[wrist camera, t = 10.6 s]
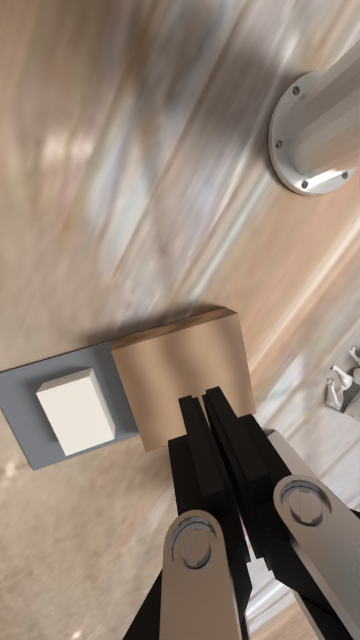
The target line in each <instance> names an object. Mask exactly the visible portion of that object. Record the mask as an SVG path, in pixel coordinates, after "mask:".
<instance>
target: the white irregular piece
mask: <svg viewBox="0 0 360 640" xmlns="http://www.w3.org/2000/svg"><path fill="white" fill-rule="evenodd" d="M354 351H355V347H353V349H352V350H351V351H349V352H350V354H351V355H352V357H353V358H354V359H355V360H356V361H357V362H358V364H359V366H360V358H358V357H357V356H356V355H355V353H354ZM332 370H335V371H336V372H337V373H338V374H339V375H340V378H341V380H342V382H343V386H342V385H341V386H340V388H339V391H338V392H337V393H335V391H334V388H333V387H334V383H333V381H332V380H333V379H330V378H329V382H328V383H330V382H331V381H332V383H331V384H329V385H327V387H328V394H327V402H326V404H327V405H329V406H331V407H333V408H335V409H337V410H338V411H340V409H341V406H342V404H343V391H345V390H347V389H348V388H349V387H350V386H351V384H352V381H354V382H355V383H356V384H357V385H360V368H356V369H355V370H354V371H353V377H352V376H351V375H348V374H346V373H344V372H343V371H341V370H340V369H339V368H337V367H336V366H333V369H332ZM346 400H347V399H346ZM347 401H348V400H347ZM346 403H347V402H346ZM347 405H348V406H347V408H346V410H345V412H344V413H343V414H345V415H346V414H347V415H348V416H352V418H353V419H355V420H358V421H360V391H359V393H358V394H357V395H356V396H355V398H354V399H353V400H352V401H351V402H350V403H347Z"/></svg>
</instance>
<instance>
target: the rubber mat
mask: <svg viewBox="0 0 360 640" xmlns="http://www.w3.org/2000/svg"><path fill="white" fill-rule="evenodd" d="M112 344H113V340H111V341H108V342H104V343H101V344H97V345H94V346H90V347H87V348H84V349H80V350H77V351H73V352H70V353H66V354H63V355H60V356H56V357H53V358H49V359H46V360H42V361H39V362H36V363H32V364H29V365H25V366H22V367H18V368H15V369H12V370H8V371H5V372H1V373H0V407H1V409H2V411H3V413H4V415H5V416H6V418H7V420H8V422H9V424H10V426H11V428H12V430H13V432H14V434H15V436H16V438H17V440H18V442H19V444H20V446H21V447H22V449H23V451H24V453H25V455H26V457H27V459H28V461H29V463H30V465H31V467H32V469H33V471H34V470H37V469H40V468H43V467H46V466H49V465H52V464H55V463H57V462H60V461H63V460H66V459H69V458H72V457H75V456H78V455H81V454H84V453H87V452H89V451H92V450H95V449H98V448H101V447H104V446H107V445H110V444H113V443H116V442H118V441H121V440H124V439H127V438H130V437H133V436H136V435H139V434H140V433H139V430H138V427H137V424H136V422H135V419H134V416H133V413H132V410H131V407H130V404H129V401H128V398H127V396H126V393H125V390H124V387H123V384H122V381H121V378H120V375H119V372H118V370H117V367H116V364H115V361H114V358H113V355H112V352H111V349H112ZM92 367H93V370H94V373H95V375H96V378H97V380H98V383H99V385H100V388H101V390H102V393H103V396H104V398H105V401H106V403H107V406H108V408H109V411H110V413H111V416H112V418H113V421H114V424H115V426H116V427H115V438H114V439H113V440H110V441H107V442H104V443H102V444H99V445H96V446H93V447H90V448H87V449H85V450H82V451H79V452H76V453H73V454H70V455H68V456H66V455H65V453H64V451H63V449H62V447H61V445H60V442H59V440H58V438H57V436H56V434H55V432H54V430H53V428H52V426H51V424H50V422H49V419H48V417H47V415H46V413H45V411H44V409H43V407H42V405H41V403H40V401H39V399H38V396H37V394H36V393H37V391H38V390H39V388H40V387H41V386H42V384H43V383H44V382H48V381H51V380H54V379H57V378H60V377H63V376H67V375H70V374H73V373H76V372H79V371H82V370H86V369H89V368H92Z"/></svg>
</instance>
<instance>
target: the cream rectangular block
mask: <svg viewBox="0 0 360 640" xmlns="http://www.w3.org/2000/svg"><path fill="white" fill-rule="evenodd" d="M36 394H37V396H38V399H39V401H40V403H41V405H42V407H43V409H44V411H45V413H46V415H47V417H48V419H49V422H50V424H51V426H52V428H53V430H54V432H55V434H56V436H57V438H58V440H59V442H60V445H61V447H62V449H63V451H64V453H65V455H66V456H68V455H70V454H73V453H76V452H79V451H82V450H85V449H87V448H90V447H93V446H96V445H99V444H102V443H104V442H107V441H110V440H113V439H114V438H115V427H116V426H115V424H114V421H113V418H112V416H111V413H110V411H109V408H108V406H107V403H106V401H105V398H104V396H103V393H102V390H101V388H100V385H99V383H98V380H97V378H96V375H95V373H94V370H93V367H92V368H89V369H86V370H82V371H79V372H76V373H73V374H70V375H67V376H63V377H60V378H57V379H54V380H51V381H48V382H44V383H43V384H42V386H41V387H40V388H39V390H38V391H37V393H36Z"/></svg>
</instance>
